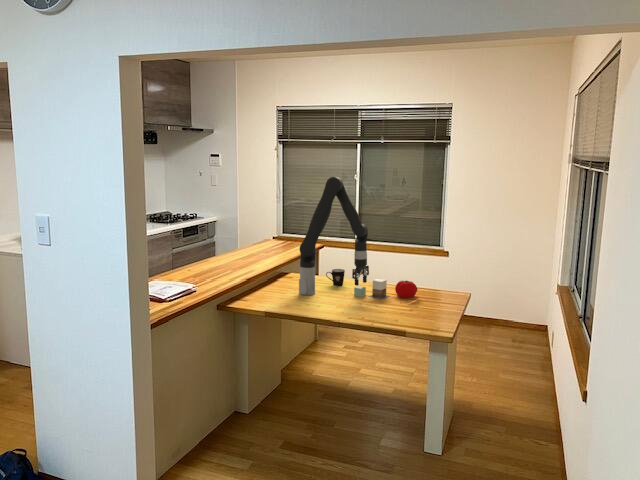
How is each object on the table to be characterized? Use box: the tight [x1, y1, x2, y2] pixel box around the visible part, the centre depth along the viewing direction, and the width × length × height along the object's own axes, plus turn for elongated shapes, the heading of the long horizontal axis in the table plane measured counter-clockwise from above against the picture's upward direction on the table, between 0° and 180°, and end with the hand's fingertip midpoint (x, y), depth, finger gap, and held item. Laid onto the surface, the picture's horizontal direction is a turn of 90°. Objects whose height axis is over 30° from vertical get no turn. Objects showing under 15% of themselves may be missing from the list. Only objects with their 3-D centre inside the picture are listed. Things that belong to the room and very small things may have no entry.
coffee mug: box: [325, 268, 346, 287], centre depth 351 cm, size 12×9×10 cm
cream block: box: [372, 278, 388, 290], centre depth 320 cm, size 6×6×5 cm
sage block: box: [353, 285, 367, 298], centre depth 323 cm, size 5×5×6 cm
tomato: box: [394, 279, 418, 299], centre depth 321 cm, size 13×12×11 cm
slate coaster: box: [367, 294, 391, 300], centre depth 321 cm, size 10×10×1 cm
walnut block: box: [371, 288, 387, 298], centre depth 321 cm, size 6×6×5 cm
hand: (360, 283), depth 322 cm, fingers open, 8 cm apart
